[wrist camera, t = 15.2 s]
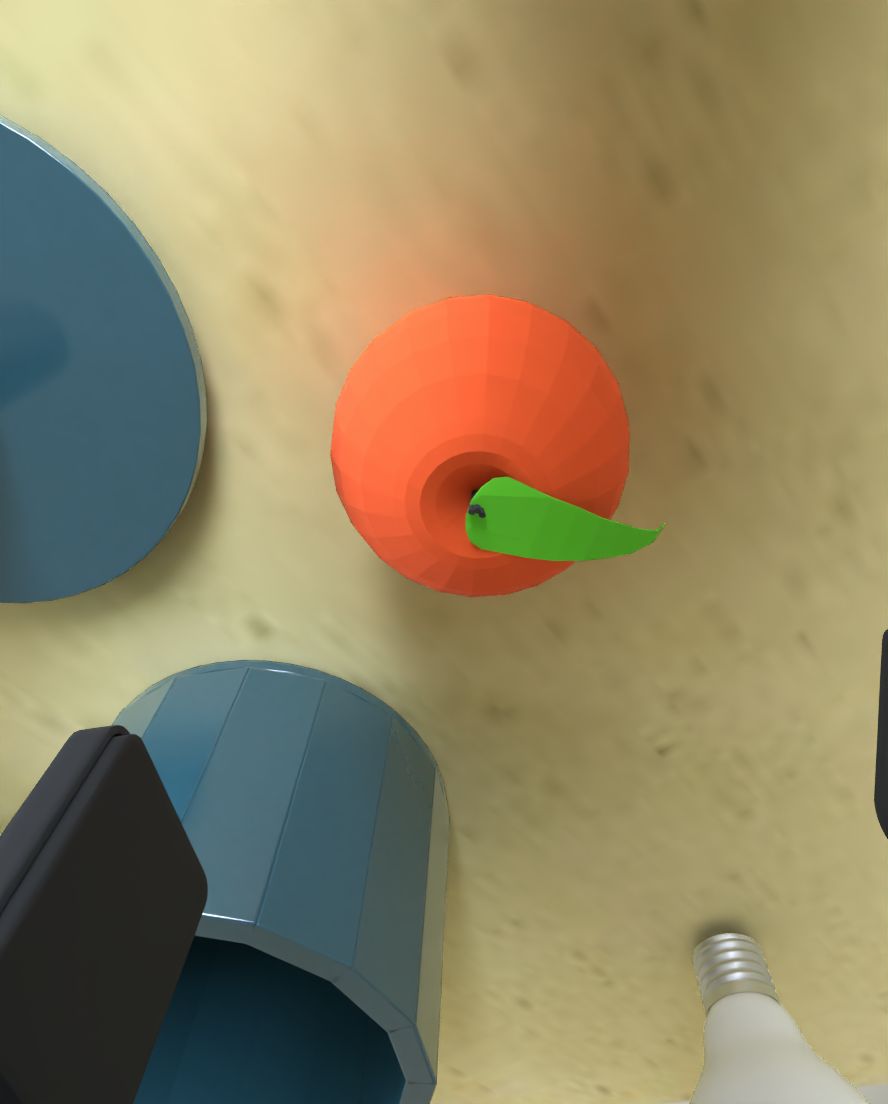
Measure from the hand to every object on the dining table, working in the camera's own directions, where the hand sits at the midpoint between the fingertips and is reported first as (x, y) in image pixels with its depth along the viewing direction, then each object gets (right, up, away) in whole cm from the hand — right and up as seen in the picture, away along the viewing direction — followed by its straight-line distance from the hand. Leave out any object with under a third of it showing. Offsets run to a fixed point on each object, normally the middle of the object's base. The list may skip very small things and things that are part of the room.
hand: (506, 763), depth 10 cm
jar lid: (-14, +7, +11) cm, 19 cm away
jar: (-7, -6, +19) cm, 21 cm away
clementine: (+1, +7, +12) cm, 14 cm away
